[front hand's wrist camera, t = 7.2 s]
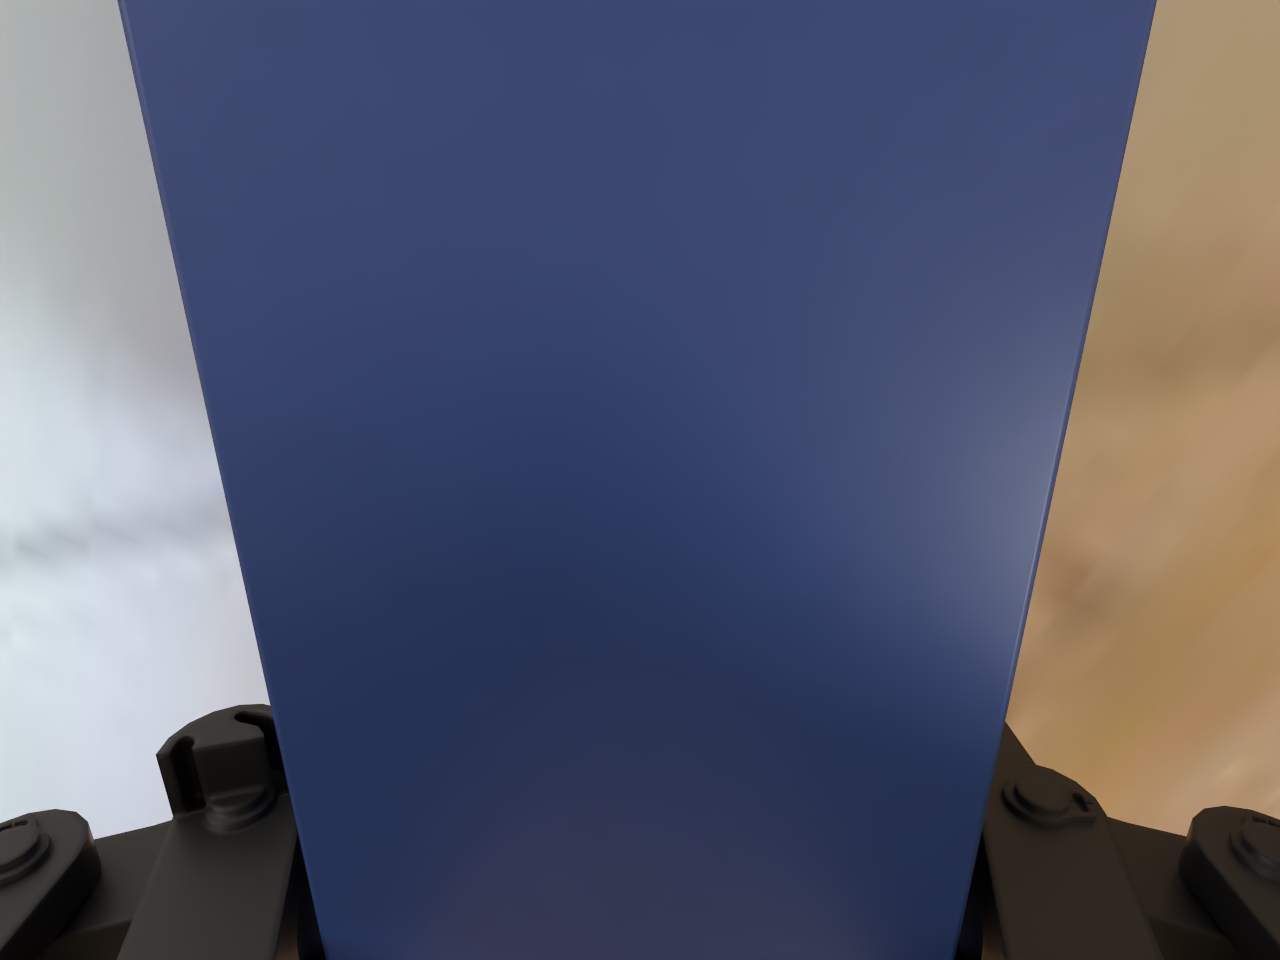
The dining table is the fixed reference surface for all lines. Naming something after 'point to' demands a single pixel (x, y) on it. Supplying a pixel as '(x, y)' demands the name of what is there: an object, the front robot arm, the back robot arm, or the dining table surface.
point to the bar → (638, 440)
